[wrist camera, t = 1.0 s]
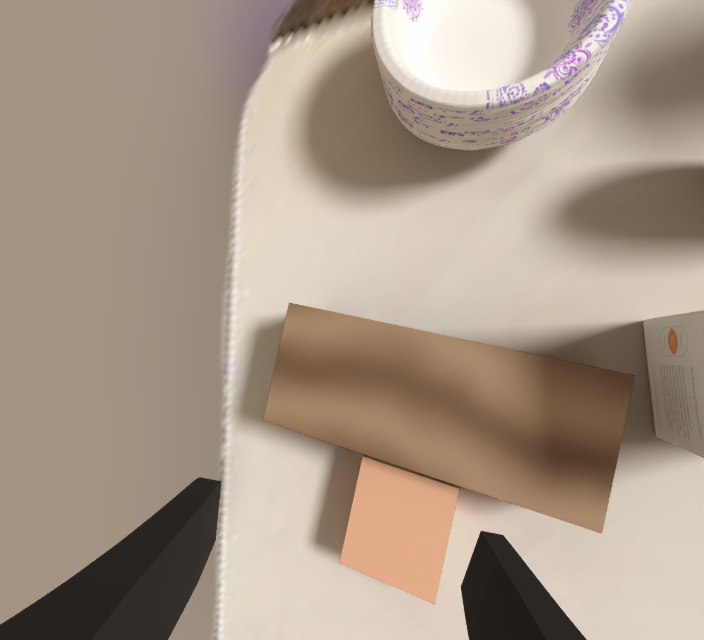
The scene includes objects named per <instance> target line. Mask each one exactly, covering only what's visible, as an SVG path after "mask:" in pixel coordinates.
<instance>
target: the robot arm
mask: <svg viewBox="0 0 704 640" xmlns="http://www.w3.org/2000/svg"><path fill="white" fill-rule="evenodd" d="M220 489H221V481H216V480H211V479H206V478H201V477H200V478H197V479H196V480H194V481H193V482H192V483H191V484H190V485H189V486H187V487H186V488H185V489H184V490H183V491H182V492H180V493H179V494H178V495H177V496H176V497H175V498H173V499H172V500H171V501H170V502H169V503H167V504H166V505H165V506H164V507H163V508H161V509H160V510H159V511H158V512H157V513H155V514H154V515H153V516H152V517H151V518H150V519H148V520H147V521H146V522H144V523H143V524H142V525H141V526H139V527H138V528H137V529H136V530H134V531H133V532H132V533H130V534H129V535H128V536H127V537H125V538H124V539H123V540H122V541H120V542H119V543H118V544H117V545H115V546H114V547H112V548H111V549H110V550H108V551H107V552H106V553H104V554H103V555H101V556H100V557H99V558H97V559H96V560H95V561H93V562H92V563H91V564H89V565H88V566H87V567H85V568H84V569H82V570H81V571H80V572H78V573H77V574H76V575H74V576H73V577H71V578H70V579H68V580H67V581H66V582H64V583H63V584H61V585H60V586H58V587H57V588H56V589H54V590H53V591H51V592H50V593H49V594H47V595H45V596H44V597H42V598H41V599H39V600H38V601H36V602H35V603H33V604H32V605H30V606H29V607H27V608H25V609H24V610H22V611H21V612H19V613H18V614H16V615H15V616H14V617H12V618H10V619H9V620H7V621H5V622H4V623H2V624H0V640H168V638H169V637H170V635H171V633H172V631H173V629H174V627H175V625H176V623H177V622H178V620H179V618H180V616H181V614H182V612H183V610H184V608H185V606H186V604H187V602H188V601H189V599H190V597H191V595H192V593H193V591H194V589H195V587H196V585H197V583H198V581H199V578H200V576H201V574H202V571H203V569H204V567H205V565H206V562H207V560H208V557H209V555H210V552H211V550H212V547H213V545H214V543H215V540H216V530H217V519H218V509H219V499H220ZM461 591H462V598H463V605H464V612H465V618H466V624H467V630H468V636H469V640H586V638H585V637H584V636H583V635H582V634H581V632H580V631H579V630H578V629H577V628H576V626H575V625H574V624H573V623H572V621H571V620H570V619H569V618H568V617H567V615H566V614H565V613H564V612H563V610H562V609H561V608H560V607H559V605H558V604H557V603H556V602H555V600H554V599H553V598H552V597H551V595H550V594H549V593H548V592H547V590H546V589H545V588H544V586H543V585H542V584H541V583H540V581H539V580H538V579H537V577H536V576H535V575H534V574H533V572H532V571H531V570H530V569H529V567H528V566H527V565H526V563H525V562H524V561H523V560H522V558H521V557H520V556H519V554H518V553H517V552H516V551H515V549H514V548H513V547H512V546H511V544H510V543H509V542H508V541H507V539H506V538H505V537H504V536H503V535H500V534H495V533H489V532H484V531H481V532H480V535H479V538H478V540H477V543H476V546H475V549H474V552H473V554H472V557H471V560H470V563H469V566H468V568H467V571H466V574H465V577H464V580H463V582H462V585H461Z"/></svg>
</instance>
